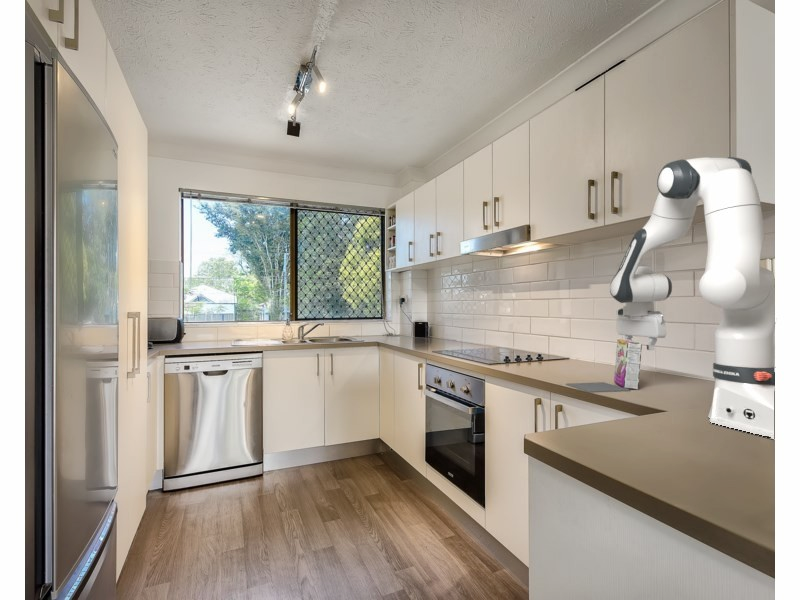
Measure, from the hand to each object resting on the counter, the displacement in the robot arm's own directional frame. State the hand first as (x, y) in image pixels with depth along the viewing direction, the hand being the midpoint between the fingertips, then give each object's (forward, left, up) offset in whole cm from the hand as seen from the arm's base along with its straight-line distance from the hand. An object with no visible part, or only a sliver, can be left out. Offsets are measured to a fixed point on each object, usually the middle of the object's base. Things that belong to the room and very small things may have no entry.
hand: (640, 348), depth 144 cm
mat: (0, +18, -14) cm, 22 cm away
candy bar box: (0, +6, -14) cm, 15 cm away
